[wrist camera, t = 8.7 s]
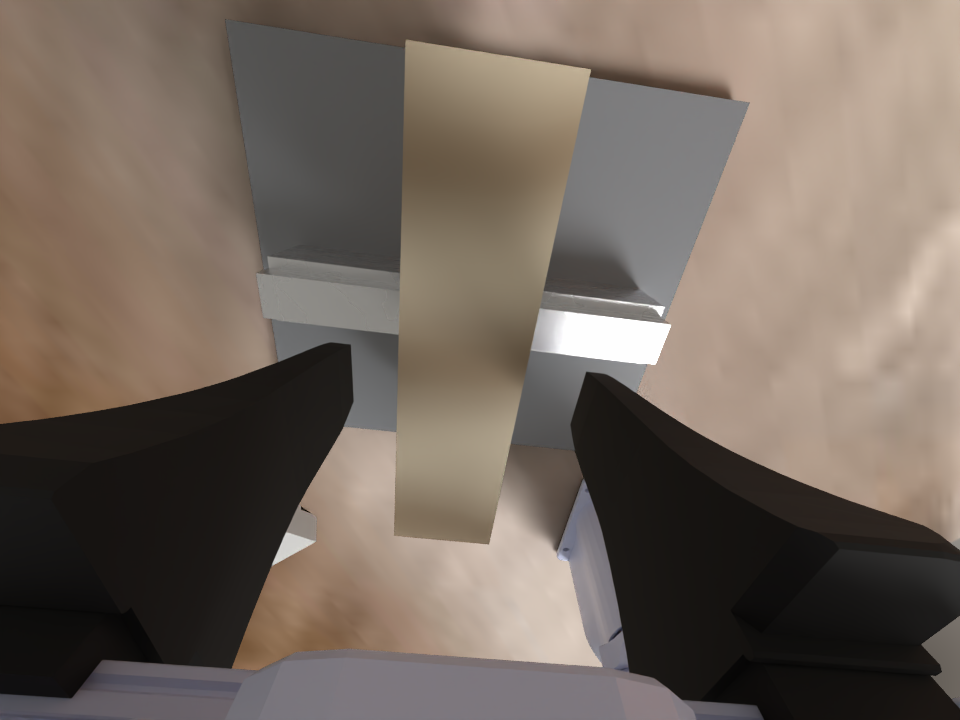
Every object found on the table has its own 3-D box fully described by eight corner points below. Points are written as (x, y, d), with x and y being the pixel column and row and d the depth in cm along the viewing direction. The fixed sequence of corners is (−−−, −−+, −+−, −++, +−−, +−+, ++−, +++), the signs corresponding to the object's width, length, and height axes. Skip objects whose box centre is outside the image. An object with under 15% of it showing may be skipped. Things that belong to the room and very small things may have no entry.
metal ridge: (622, 339, 20) (651, 373, 17) (304, 300, 19) (265, 328, 16) (639, 288, 19) (675, 314, 15) (299, 244, 18) (253, 260, 14)
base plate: (607, 444, 25) (612, 454, 24) (294, 411, 24) (287, 420, 23) (735, 106, 16) (749, 102, 15) (240, 28, 15) (224, 19, 14)
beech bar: (487, 460, 19) (488, 544, 15) (414, 452, 19) (394, 535, 15) (551, 109, 12) (591, 69, 8) (434, 91, 12) (405, 40, 7)
